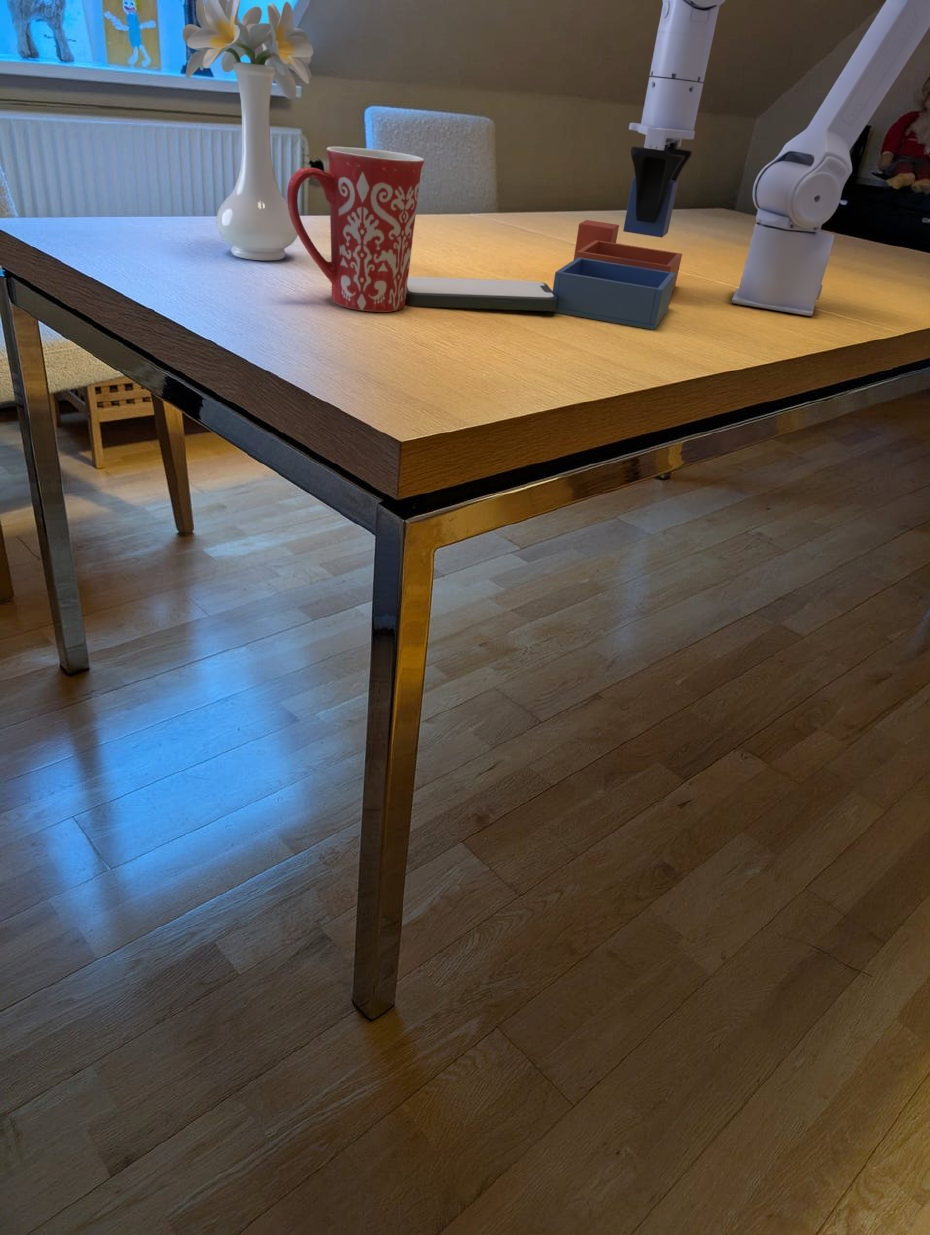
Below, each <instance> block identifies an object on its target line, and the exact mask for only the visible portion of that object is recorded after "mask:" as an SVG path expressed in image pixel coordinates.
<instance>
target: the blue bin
mask: <svg viewBox="0 0 930 1235" xmlns="http://www.w3.org/2000/svg"><path fill="white" fill-rule="evenodd" d="M675 275H676V273H672V272H671V273H670V272H666V271H660V270H654V269H648V268H642V267H635V266H629V265H623V264H617V263H611V262H605V261H598V260H592V259H586V258H580V257H578V258H576V259H575V260H574V259H573V260H571V261H570V262H568V263H567V264H566V265H563V266H562V267H561V268H559V269H558V270H556V271H555V272H554V277H553V284H552V293H553V294H555V295H556V296H557V297H558V305H557V309H555V310H553V311H549V312H551V313H554V314H555V313H556V314H563V315H566V316H572V317H579V318H585V319H590V320H595V321H602V322H607V323H613V324H618V325H623V326H628V327H629V326H630V327H635V328H641V329H646V330H651V331H654V330H656V329H657V326H658V325H659V324H660V322H661V321H662V320H663V317H664V316H665V315H666V313H667V312H668V311H669V308H670V302H671V298H672V293H673V290H674V289H673V284H674V279H675ZM672 289H673V290H672Z"/></svg>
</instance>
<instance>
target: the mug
mask: <svg viewBox="0 0 930 1235" xmlns="http://www.w3.org/2000/svg"><path fill="white" fill-rule="evenodd" d="M325 150H326V154H327V157H328V172H326V171H324V170H322V169H319V168H316V167H312V166H311V167H308V166H306V167H302V168H300V169H297V170H296V171H295V172H294V173H293V174H292V176H291V177H290V180H289V182H288V185H287V190H286V191H287V192H286V201H287V203H288V210H289V214H290V218H291V221H292V223H293V226H294V228H295V230H296V232H297V234H298V236H297V237H298V238H299V240H300V242H301V243H302V245H303V246H304V248H305V250H306V251H307V253H308V254H309V256H310V257H311V258H312V260H313V261H314V263H315V264H316V265H317V267H318V268H319V269H320V271H321V272H322V274H323V275H325V277H326V279H328V281H329V282H330V283H331V300H332V301H333V303H335V304H337V305H339V306H341V307H345V308H348V309H352V310H356V311H357V310H358V311H364V312H365V311H366V312H373V313H374V312H375V313H376V312H379V313H387V312H389V313H390V312H396V311H400V310H402V309H403V308H404V307H405V305H406V304H405V299H406V291H407V281H408V277H409V273H410V265H411V257H412V248H413V239H414V231H415V223H416V216H417V208H418V200H419V190H420V183H421V175H422V169H423V166H424V163H425V158H424V157H423V158H422V157H420V156H417V155H413V154H409V153H403V152H397V151H389V150H383V149H375V148H366V147H365V148H363V147H353V146H352V147H350V146H348V147H347V146H328V147H326V149H325ZM309 178H313V179H315V180H316V181H318V183H319V184H320V186H321V188H322V190H323V193H324V196H325V199H326V201H327V203H328V204H329V213H330V214H329V218H330V219H329V220H330V222H329V224H330V257H331V258H330V259H331V261H328V260H326V259H325V258H324V256H323V255H322V254H321V253H320V251H319V250H318V249H317V248H316V246H315V244H314V242H313V241H312V239H311V238H310V236H309V234H308V232H307V231H306V229H305V227H304V225H303V222H302V218H301V216H300V211H299V207H298V206H299V205H298V204H299V203H298V200H299V199H298V197H299V190H300V188H301V186H302V184H303V182H304V181H306V180H307V179H309Z"/></svg>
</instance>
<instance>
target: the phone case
mask: <svg viewBox="0 0 930 1235" xmlns="http://www.w3.org/2000/svg"><path fill="white" fill-rule="evenodd" d="M552 291H553V289H551V287H550V286H549V285H548V284H547V283H545V282H542V281H537V280H517V279H494V278H493V279H490V278H465V277H464V278H463V277H441V276H440V277H439V276H413V275H412V276H408V281H407V291H406V299H405V305H407V306H408V307H409V306H410V307H419V308H420V307H422V308H423V307H425V308H452V309H453V308H454V309H479V310H480V309H481V310H482V309H485V310H507V311H508V310H511V311H524V312H525V311H526V312H550V311H553V310H555V309H557V305H558V297H557V296H556V295H555V294H553V293H552Z"/></svg>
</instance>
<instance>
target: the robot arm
mask: <svg viewBox="0 0 930 1235" xmlns="http://www.w3.org/2000/svg"><path fill="white" fill-rule="evenodd" d="M661 1H662V7H661V11H660V17H659V24H658V27H657V33H656V37H655V42H654V43H655V44H654V49H653V54H652V55H653V56H652V60H651V65H650V71H649V77H648V82H647V88H646V95H645V99H644V105H643V110H642V114H641V121H640V123H638V122H630V123H629V125H628V130H629V131H635V132H637V133H639V134H642V135H645V139H644V145H643V146H631V147H630V157H631V160H632V164H633V170H634V176H635V178H636V220H638V221H644V222H650V223H655V221H656V219H657V217H658V215H659V212H660V210H661V207H662V204H663V201H664V198H665V194H666V192H667V189H668V186H669V184H670V182H671V180H674V181H678V178H679V176H680V175H681V172H682V171H683V169H684V168H685V165H686V164H687V163H688V161H689V160H690V159H691V157H692V154H693V151H692V150H689V149H681V148H679V147H681V145H682V141H683V140H694V139H695V135H696V134H695V133H696V131H695V125H696V120H697V116H698V111H699V106H700V102H701V96H702V92H703V88H704V82H705V78H706V72H707V68H708V63H709V59H710V54H711V50H712V44H713V39H714V36H715V35H714V34H715V30H716V24H717V19H718V14H719V10H720V6H721V5H722V4H724V3H725V1H727V0H661ZM929 29H930V0H885V2H884V3H883V5H882V6H881V9H880V10H879V11H878V13H877V14H876V16H875V18H874V20H873V21H872V23H871V24H870V26H869V28H868V29H867V30H866V33H865V34H864V35H863V37H862V39H861V41H860V42H859V44H858V46H856V48H855V50H854V52H853V53H852V55H851V57H850V59H849V60H848V61H847V63H846V64H845V66H844V68H843V69H842V71H841V73H840V74H839V76H838V77H837V79H836V81H835V82H834V84H833V86H831V89H830V91H829V92H828V94H827V95H826V96H825V98H824V100H823V102H822V103H821V105H820V107H819V108H818V109H817V111H816V112H815V114H814V116H813V118H812V120H811V121H810V123H809V124H808V126H807V127H806V128H805V129H804V130H802V132H800V133H799V134H797V135H795V137H792V138H791V139H790V140H789V141H788V142H786V143H785V144H784V146H783V147H782V148H781V150H780V152H779V153H778V155H777V156H776V157H775V158H774V159H773V160H771V161H770V162H768V163H767V164H766V165H764V167H763V168H762V169H761V170H760V171H759V173H758V174H757V176H756V178H755V181H754V183H753V186H752V201H753V205H754V207H755V208H756V210H757V212H756V216H755V222H754V227H753V231H752V235H751V238H750V243H749V246H748V247H749V248H748V250H747V255H746V258H745V262H744V265H743V266H744V267H743V270H742V275H741V277H740V278H741V279H740V283H739V287H738V288H735V291H734V293H733V296H732V298H731V303H732V304H736V305H742V306H748V307H754V308H760V309H766V310H772V311H779V312H784V313H790V314H796V315H802V316H807V317H812V316H813V315H814V310H815V307H816V303H817V301H819V299H820V298H821V293H822V290H823V285H824V284H822V283H823V280H824V276H825V273H826V270H827V267H828V263H829V260H830V255H831V252H832V248H833V244H834V240H835V235H834V234H833V233H829V232H822V231H821V229H822V225H823V224H825V223H826V222H828V221H829V220H830V219H831V217H832V216H833V215H834V213H835V212H836V210H837V209H838V207H839V204H840V202H841V198H842V194H843V189H844V187H845V184H846V183H847V181H848V179H849V177H850V176H851V174H852V172H853V165H852V159H851V155H850V151H851V149H852V147H853V146H854V145H855V143H856V142H857V140H858V139H859V137H860V135H861V134H862V132H863V131H864V130H865V128H866V126H867V124H868V123H869V121H870V120H871V118H872V117H873V115H874V113H876V110H877V109H878V107H879V106H880V104H881V103H882V101H883V100H884V98H885V97H886V95H887V93H888V92H889V91H890V89H891V87H892V86H893V84H894V82H895V81H896V80H897V78H898V76H899V75H900V73H901V72H902V70H903V69H904V68H905V65H906V64H907V63H908V61H909V60H910V58H911V57H912V55H913V53H914V52H915V51H916V49H917V47H918V46H919V44H920V42H921V41H922V40H923V38H924V36H925V35H926V33H927V32H928V30H929ZM677 147H678V148H677Z"/></svg>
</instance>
